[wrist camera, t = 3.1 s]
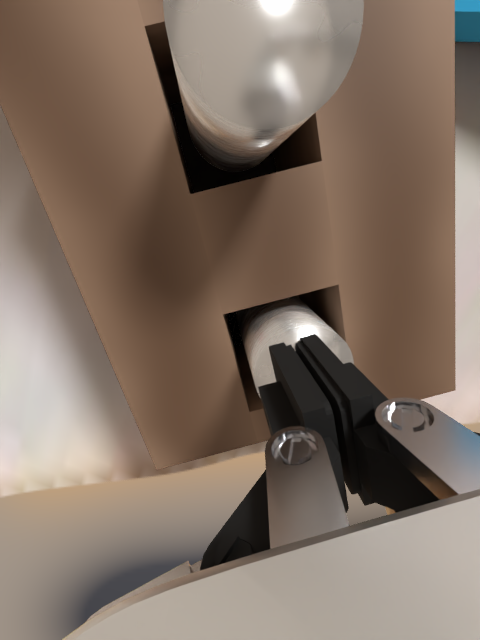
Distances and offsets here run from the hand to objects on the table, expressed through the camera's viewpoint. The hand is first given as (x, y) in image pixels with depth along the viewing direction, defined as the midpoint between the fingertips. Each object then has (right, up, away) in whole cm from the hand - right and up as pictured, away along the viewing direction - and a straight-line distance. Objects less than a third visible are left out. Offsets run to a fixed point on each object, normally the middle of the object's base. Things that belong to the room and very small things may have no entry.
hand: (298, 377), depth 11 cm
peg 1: (-2, +10, +1) cm, 10 cm away
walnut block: (-2, +7, +7) cm, 10 cm away
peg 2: (0, +2, +7) cm, 7 cm away
